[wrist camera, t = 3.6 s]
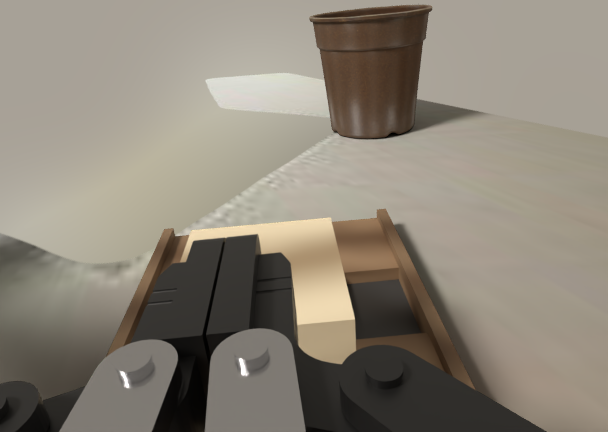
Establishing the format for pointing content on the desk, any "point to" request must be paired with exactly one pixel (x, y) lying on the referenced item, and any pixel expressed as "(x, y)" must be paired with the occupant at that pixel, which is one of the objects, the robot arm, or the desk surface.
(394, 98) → the plant pot
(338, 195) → the desk surface
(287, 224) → the block
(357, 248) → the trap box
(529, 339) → the desk surface
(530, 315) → the desk surface
